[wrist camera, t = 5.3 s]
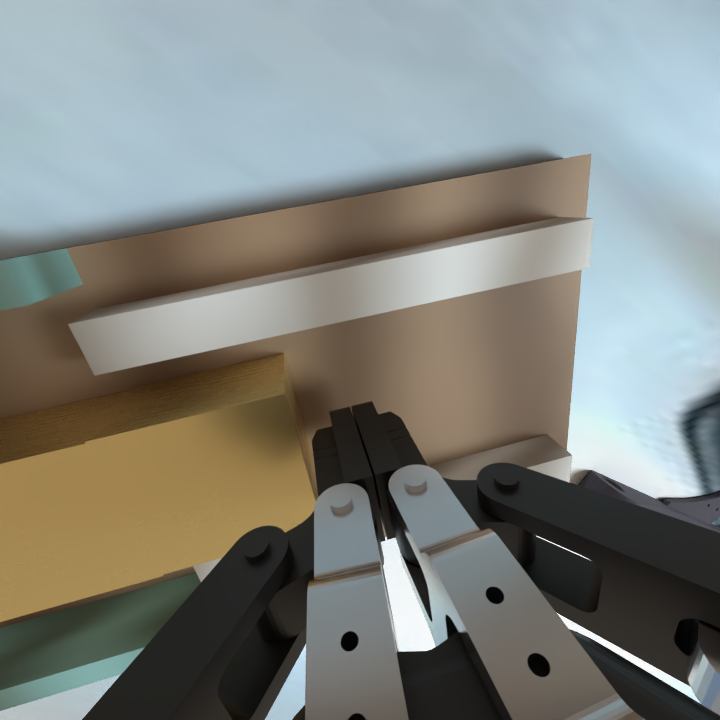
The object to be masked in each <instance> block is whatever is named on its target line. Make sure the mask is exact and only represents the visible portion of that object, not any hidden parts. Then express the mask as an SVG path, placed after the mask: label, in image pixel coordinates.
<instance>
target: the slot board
mask: <svg viewBox="0 0 720 720" xmlns="http://www.w3.org/2000/svg"><path fill="white" fill-rule="evenodd" d="M590 163H591V154H588V155H582V156H576V157H570V158H565V159H559V160H554V161H548V162H542V163H537V164H531V165H526V166H520V167H515V168H509V169H504V170H498V171H492V172H487V173H481V174H476V175H470V176H465V177H459V178H454V179H448V180H442V181H437V182H431V183H426V184H420V185H415V186H409V187H404V188H398V189H392V190H387V191H381V192H376V193H370V194H365V195H359V196H354V197H348V198H342V199H337V200H331V201H326V202H320V203H315V204H309V205H304V206H298V207H292V208H287V209H281V210H276V211H270V212H265V213H259V214H254V215H248V216H242V217H237V218H231V219H226V220H220V221H215V222H209V223H204V224H198V225H192V226H187V227H181V228H176V229H170V230H165V231H159V232H154V233H148V234H142V235H137V236H131V237H126V238H120V239H115V240H109V241H104V242H98V243H92V244H87V245H81V246H76V247H70V248H65V249H59V250H54V251H48V252H42V253H37V254H31V255H26V256H20V257H15V258H9V259H4V260H0V419H2V418H7V417H11V416H15V415H20V414H24V413H29V412H33V411H37V410H42V409H46V408H51V407H55V406H59V405H64V404H68V403H73V402H77V401H82V400H86V399H90V398H95V397H99V396H104V395H108V394H112V393H117V392H121V391H126V390H129V389H130V388H131V387H136V386H140V385H145V384H149V383H153V382H158V381H162V380H167V379H171V378H175V377H180V376H184V375H189V374H193V373H197V372H202V371H206V370H211V369H215V368H219V367H224V366H228V365H233V364H237V363H241V362H246V361H250V360H255V359H259V358H263V357H268V356H272V355H277V354H281V353H284V354H285V358H286V361H287V365H288V369H289V372H290V376H291V380H292V383H293V387H294V390H295V394H296V398H297V401H298V405H299V409H300V412H301V416H302V420H303V423H304V427H305V430H306V434H307V438H308V441H309V445H310V449H311V452H312V456H313V448H312V439H313V437H314V435H315V433H316V431H317V430H319V429H322V428H326V427H330V426H332V423H331V418H330V414H329V411H333V410H337V409H341V408H346V407H350V409H351V412H352V408H351V406H353V405H357V404H361V403H365V402H370V401H372V402H373V404H374V406H375V408H376V411H377V413H378V414H382V413H386V412H390V411H391V412H393V413H394V414H396V415H397V416H399V417H400V418H401V419H402V421H403V422H404V424H405V426H406V428H407V430H408V431H409V433H410V435H411V437H412V439H413V440H414V442H415V444H416V446H417V448H418V449H419V451H420V453H421V455H422V457H423V458H424V460H425V462H426V464H427V466H428V467H431V468H433V469H435V470H436V471H437V472H438V473H439V474H440V475H441V477H443V478H447V479H452V480H477V475H478V473H479V472H480V470H481V469H483V468H484V467H485V466H487V465H490V464H493V463H512V464H515V465H519V466H522V467H525V468H528V469H531V470H534V471H537V472H540V473H543V474H546V475H549V476H552V477H555V478H558V479H561V480H563V481H566V482H569V483H570V472H571V461H572V455H571V454H570V453H569V452H568V451H566V450H567V438H568V426H569V414H570V402H571V390H572V378H573V366H574V354H575V342H576V330H577V318H578V306H579V294H580V282H581V270H582V269H587V268H589V265H590V254H591V243H592V232H593V221H594V218H586V211H587V199H588V187H589V175H590ZM352 415H353V414H352ZM313 460H314V456H313ZM381 521H382V520H381ZM382 526H383V524H382ZM383 531H384V536H385V537H386V533H385V530H384V527H383ZM221 559H222V558H220V559H216V560H213V561H209V562H206V563H202V564H199V565H195V566H192V567H188V568H185V569H181V570H178V571H174V572H171V573H167V574H164V575H163V576H161V577H158V578H154V579H151V580H147V581H144V582H140V583H137V584H133V585H130V586H126V587H123V588H119V589H115V590H112V591H108V592H105V593H101V594H98V595H94V596H91V597H87V598H84V599H80V600H77V601H73V602H70V603H66V604H62V605H59V606H55V607H52V608H48V609H45V610H41V611H38V612H34V613H31V614H27V615H24V616H20V617H17V618H13V619H9V620H6V621H2V622H0V711H2V710H5V709H8V708H11V707H15V706H18V705H21V704H24V703H28V702H31V701H34V700H38V699H41V698H44V697H47V696H51V695H54V694H57V693H60V692H64V691H67V690H70V689H74V688H77V687H80V686H83V685H87V684H90V683H93V682H97V681H100V680H103V679H106V678H110V677H113V676H116V675H119V674H122V673H123V672H124V671H125V670H126V668H127V667H128V666H129V665H130V664H131V663H132V662H133V660H134V659H135V658H136V657H137V656H138V655H139V653H140V652H141V651H142V650H143V649H144V648H145V647H146V645H147V644H148V643H149V642H150V641H151V640H152V638H153V637H154V636H155V635H156V634H157V633H158V632H159V630H160V629H161V628H162V627H163V626H164V625H165V623H166V622H167V621H168V620H169V619H170V618H171V617H172V615H173V614H174V613H175V612H176V611H177V610H178V608H179V607H180V606H181V605H182V604H183V603H184V602H185V600H186V599H187V598H188V597H189V596H190V595H191V593H192V592H193V591H194V590H195V589H196V588H197V587H198V585H199V584H200V583H201V582H202V581H203V580H204V578H205V577H206V576H207V575H208V574H209V573H210V572H211V570H212V569H213V568H214V567H215V566H216V565H217V563H218V562H219V561H220V560H221Z"/></svg>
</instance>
